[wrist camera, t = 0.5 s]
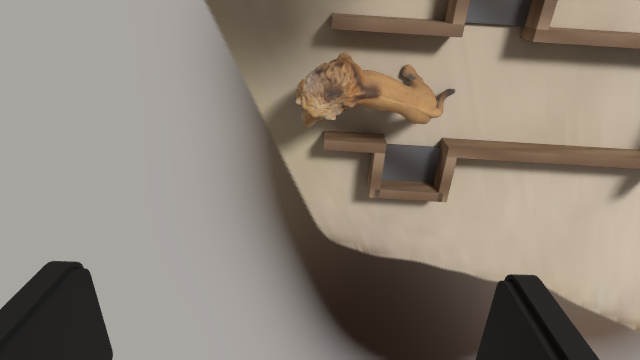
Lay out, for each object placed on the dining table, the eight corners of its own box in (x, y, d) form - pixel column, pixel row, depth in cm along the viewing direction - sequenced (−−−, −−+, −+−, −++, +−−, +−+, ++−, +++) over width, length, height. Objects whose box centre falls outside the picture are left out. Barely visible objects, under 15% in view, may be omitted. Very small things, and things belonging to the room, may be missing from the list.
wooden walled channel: (336, -53, 33) (337, -57, 28) (755, -25, 33) (822, -25, 28) (320, 183, 43) (319, 207, 38) (640, 202, 43) (676, 228, 39)
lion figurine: (298, 103, 39) (291, 137, 31) (301, 46, 36) (293, 67, 28) (447, 114, 39) (477, 150, 31) (460, 58, 37) (496, 83, 29)
